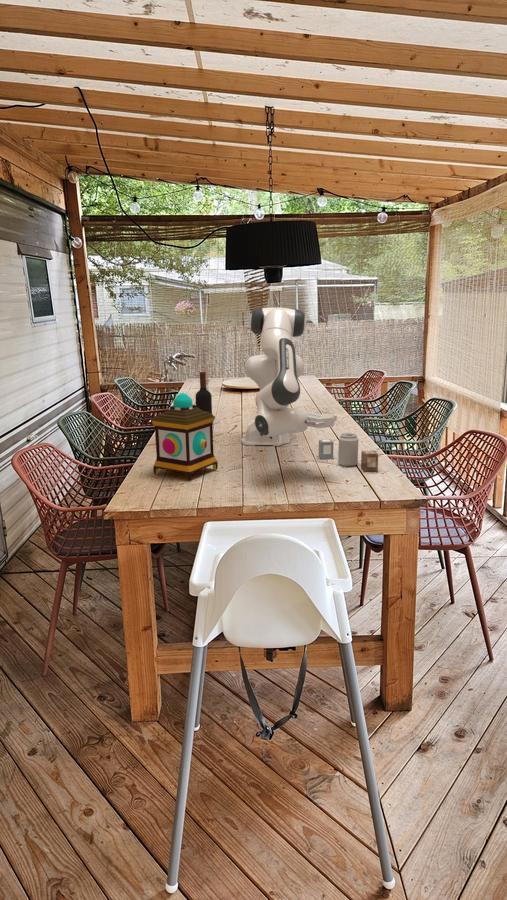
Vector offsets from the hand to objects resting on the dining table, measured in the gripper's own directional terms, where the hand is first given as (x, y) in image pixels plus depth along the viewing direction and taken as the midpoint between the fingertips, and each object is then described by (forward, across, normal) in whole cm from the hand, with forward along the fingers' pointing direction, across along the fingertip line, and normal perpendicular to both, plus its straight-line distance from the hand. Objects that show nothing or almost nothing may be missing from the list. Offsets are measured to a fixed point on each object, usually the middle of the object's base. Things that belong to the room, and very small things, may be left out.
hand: (326, 416), depth 214 cm
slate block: (+12, +13, +20) cm, 27 cm away
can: (+12, 0, +20) cm, 24 cm away
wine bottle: (-5, +80, +20) cm, 82 cm away
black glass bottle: (+11, +105, +19) cm, 107 cm away
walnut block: (+12, -11, +20) cm, 26 cm away
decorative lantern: (-43, +30, +21) cm, 56 cm away
